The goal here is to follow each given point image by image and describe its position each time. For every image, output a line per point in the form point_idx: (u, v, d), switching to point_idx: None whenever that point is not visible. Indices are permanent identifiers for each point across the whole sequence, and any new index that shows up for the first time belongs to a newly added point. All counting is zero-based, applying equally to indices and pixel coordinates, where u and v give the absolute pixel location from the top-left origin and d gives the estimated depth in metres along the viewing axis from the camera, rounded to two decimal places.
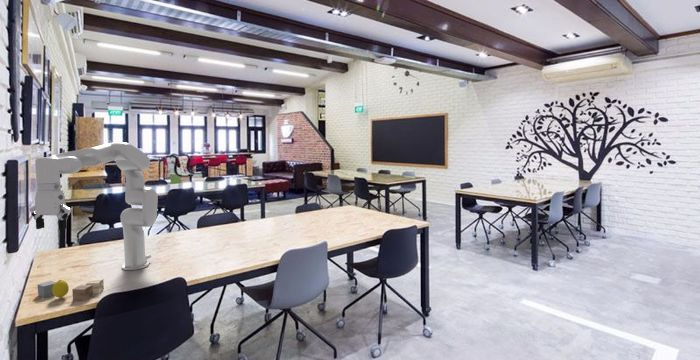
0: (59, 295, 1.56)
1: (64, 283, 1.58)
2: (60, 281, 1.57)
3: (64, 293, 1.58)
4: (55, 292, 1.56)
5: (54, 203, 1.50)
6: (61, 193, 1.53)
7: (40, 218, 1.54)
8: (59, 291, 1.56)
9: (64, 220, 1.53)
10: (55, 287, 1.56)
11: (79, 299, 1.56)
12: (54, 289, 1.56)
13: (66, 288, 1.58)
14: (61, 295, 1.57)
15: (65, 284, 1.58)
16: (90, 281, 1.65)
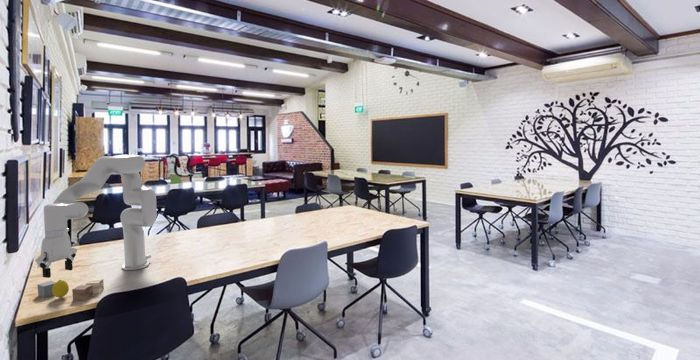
0: (59, 295, 1.56)
1: (64, 283, 1.58)
2: (60, 281, 1.57)
3: (64, 293, 1.58)
4: (55, 292, 1.56)
5: (69, 246, 1.60)
6: None
7: None
8: (59, 291, 1.56)
9: None
10: (55, 287, 1.56)
11: (79, 299, 1.56)
12: (54, 289, 1.56)
13: (66, 288, 1.58)
14: (61, 295, 1.57)
15: (65, 284, 1.58)
16: (90, 281, 1.65)
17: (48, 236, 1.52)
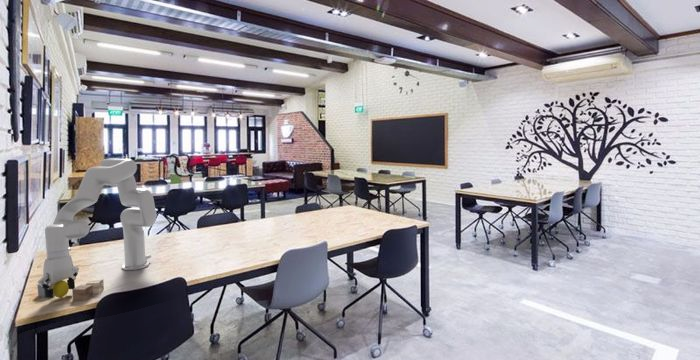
0: (59, 295, 1.56)
1: (64, 283, 1.58)
2: (60, 281, 1.57)
3: (64, 293, 1.58)
4: (55, 292, 1.56)
5: (71, 265, 1.61)
6: None
7: None
8: (59, 291, 1.56)
9: None
10: (55, 287, 1.56)
11: (79, 299, 1.56)
12: (54, 289, 1.56)
13: (66, 288, 1.58)
14: (61, 295, 1.57)
15: (65, 284, 1.58)
16: (90, 281, 1.65)
17: (50, 257, 1.53)
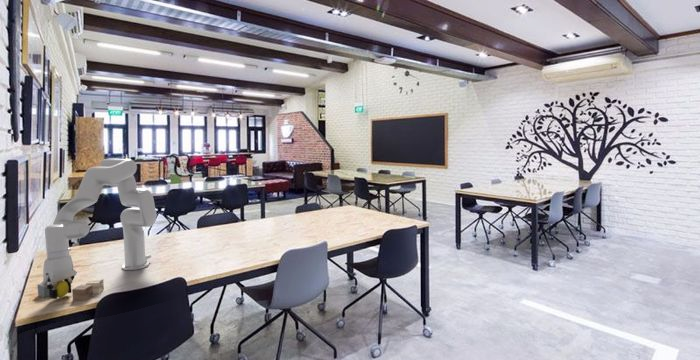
0: (59, 295, 1.56)
1: (64, 283, 1.58)
2: (60, 281, 1.57)
3: (64, 293, 1.58)
4: None
5: (71, 265, 1.61)
6: None
7: None
8: (59, 291, 1.56)
9: None
10: None
11: (79, 299, 1.56)
12: None
13: (66, 288, 1.58)
14: (61, 295, 1.57)
15: (65, 284, 1.58)
16: (90, 281, 1.65)
17: (50, 257, 1.53)
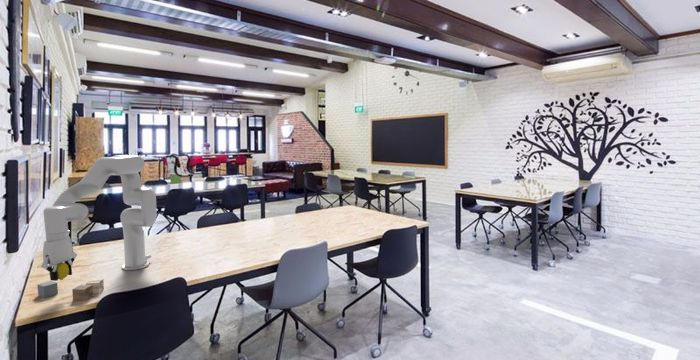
0: (60, 277, 1.56)
1: (64, 265, 1.58)
2: (60, 263, 1.57)
3: (65, 275, 1.58)
4: None
5: (71, 247, 1.60)
6: None
7: None
8: (60, 272, 1.56)
9: None
10: None
11: (79, 299, 1.56)
12: None
13: (66, 270, 1.58)
14: (62, 277, 1.57)
15: (65, 266, 1.58)
16: (90, 281, 1.65)
17: (49, 239, 1.53)
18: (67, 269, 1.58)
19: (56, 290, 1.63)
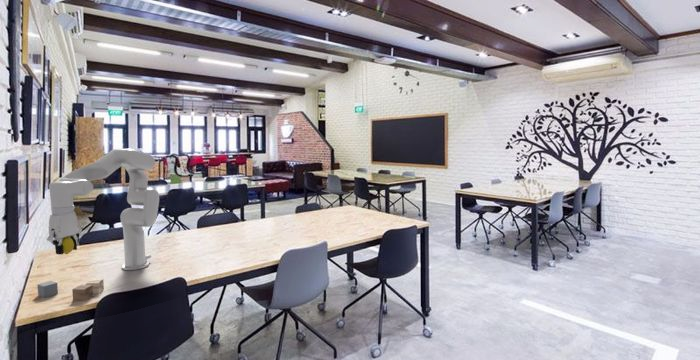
0: (65, 251, 1.58)
1: (69, 239, 1.60)
2: (65, 237, 1.59)
3: (70, 249, 1.60)
4: None
5: (76, 222, 1.63)
6: None
7: None
8: (65, 246, 1.58)
9: None
10: (61, 243, 1.58)
11: (79, 299, 1.56)
12: None
13: (72, 244, 1.60)
14: (67, 251, 1.59)
15: (70, 240, 1.60)
16: (90, 281, 1.65)
17: (55, 213, 1.55)
18: (72, 243, 1.60)
19: (56, 290, 1.63)
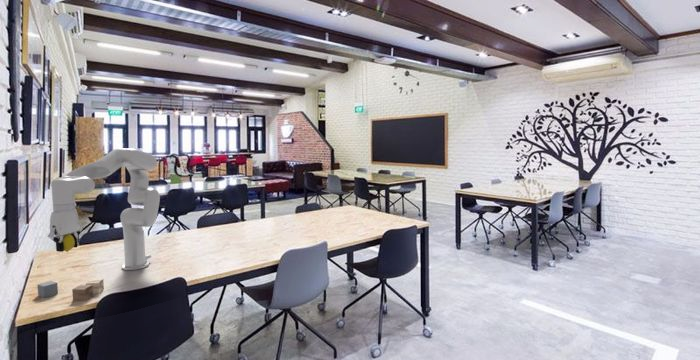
0: (65, 248, 1.59)
1: (70, 237, 1.60)
2: (66, 235, 1.60)
3: (70, 246, 1.60)
4: None
5: (77, 220, 1.63)
6: None
7: None
8: (66, 244, 1.58)
9: None
10: None
11: (79, 299, 1.56)
12: None
13: (72, 242, 1.60)
14: (67, 248, 1.59)
15: (71, 238, 1.60)
16: (90, 281, 1.65)
17: (56, 210, 1.55)
18: (73, 241, 1.61)
19: (56, 290, 1.63)
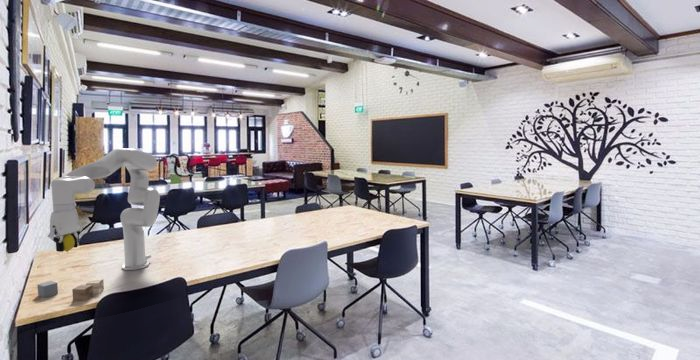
0: (65, 248, 1.59)
1: (70, 237, 1.60)
2: (66, 235, 1.60)
3: (70, 246, 1.60)
4: None
5: (77, 220, 1.63)
6: None
7: None
8: (66, 244, 1.58)
9: None
10: None
11: (79, 299, 1.56)
12: None
13: (72, 242, 1.60)
14: (67, 248, 1.59)
15: (71, 238, 1.60)
16: (90, 281, 1.65)
17: (56, 210, 1.55)
18: (73, 241, 1.61)
19: (56, 290, 1.63)
